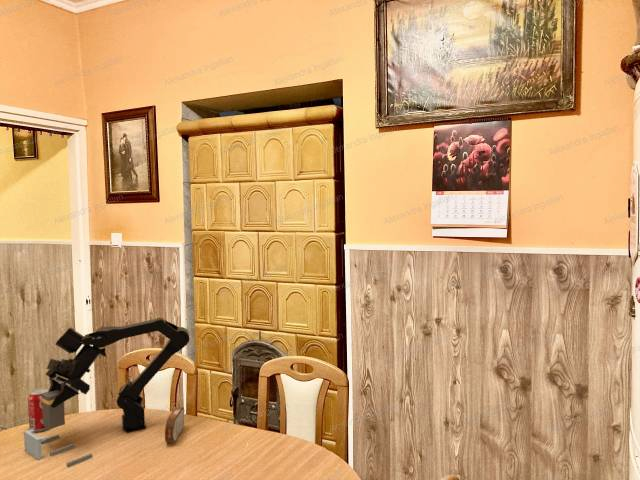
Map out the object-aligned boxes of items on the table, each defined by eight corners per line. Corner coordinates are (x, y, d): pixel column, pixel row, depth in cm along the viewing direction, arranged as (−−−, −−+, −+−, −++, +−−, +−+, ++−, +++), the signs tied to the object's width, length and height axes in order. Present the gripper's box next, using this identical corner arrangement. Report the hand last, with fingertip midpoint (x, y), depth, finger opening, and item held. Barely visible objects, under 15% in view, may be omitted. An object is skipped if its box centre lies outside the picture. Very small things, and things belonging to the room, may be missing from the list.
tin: (177, 427, 164) (176, 402, 164) (186, 426, 164) (185, 402, 164) (164, 447, 149) (163, 421, 149) (174, 447, 149) (173, 420, 149)
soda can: (42, 433, 161) (40, 395, 161) (24, 432, 163) (22, 394, 162) (58, 424, 168) (56, 388, 168) (40, 423, 170) (38, 387, 169)
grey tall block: (58, 420, 154) (56, 390, 154) (64, 424, 151) (63, 392, 151) (43, 425, 150) (41, 394, 150) (49, 429, 148) (48, 397, 147)
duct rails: (58, 437, 158) (57, 419, 158) (92, 457, 144) (91, 437, 144) (23, 449, 150) (22, 430, 150) (56, 472, 136) (55, 451, 136)
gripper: (50, 344, 159) (15, 386, 150) (78, 352, 147) (41, 399, 139) (75, 361, 165) (42, 403, 157) (104, 371, 154) (70, 417, 146)
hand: (48, 405), depth 150 cm, fingers closed on grey tall block, 4 cm apart
